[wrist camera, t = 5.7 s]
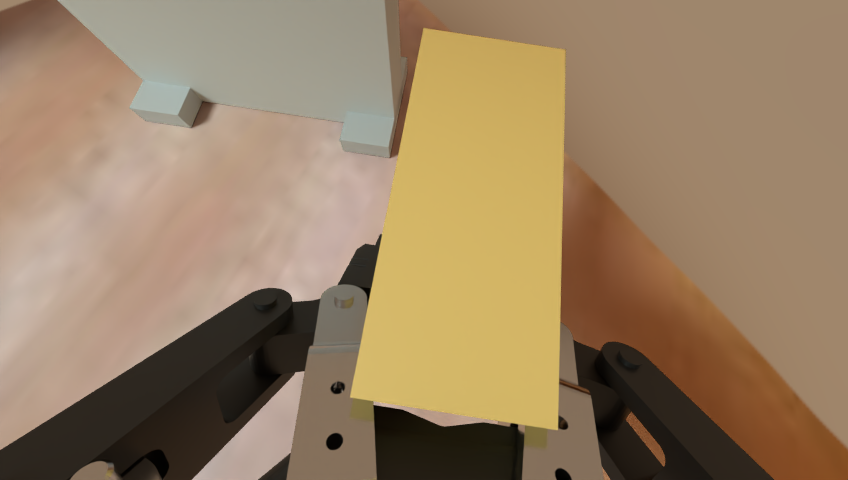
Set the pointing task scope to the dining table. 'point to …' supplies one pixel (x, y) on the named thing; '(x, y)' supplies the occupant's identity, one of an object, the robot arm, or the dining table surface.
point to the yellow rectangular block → (473, 238)
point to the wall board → (261, 59)
